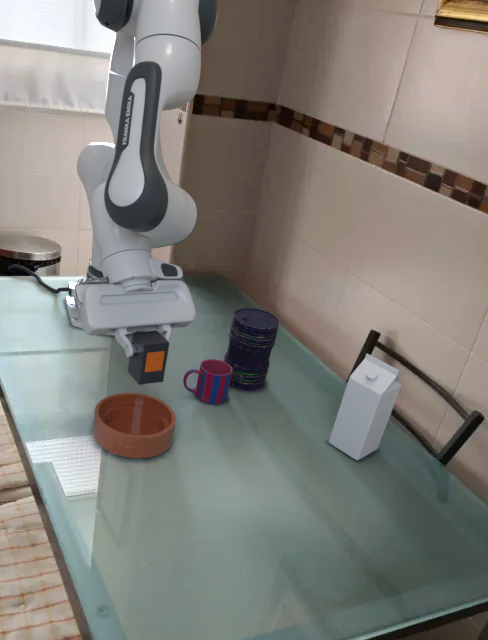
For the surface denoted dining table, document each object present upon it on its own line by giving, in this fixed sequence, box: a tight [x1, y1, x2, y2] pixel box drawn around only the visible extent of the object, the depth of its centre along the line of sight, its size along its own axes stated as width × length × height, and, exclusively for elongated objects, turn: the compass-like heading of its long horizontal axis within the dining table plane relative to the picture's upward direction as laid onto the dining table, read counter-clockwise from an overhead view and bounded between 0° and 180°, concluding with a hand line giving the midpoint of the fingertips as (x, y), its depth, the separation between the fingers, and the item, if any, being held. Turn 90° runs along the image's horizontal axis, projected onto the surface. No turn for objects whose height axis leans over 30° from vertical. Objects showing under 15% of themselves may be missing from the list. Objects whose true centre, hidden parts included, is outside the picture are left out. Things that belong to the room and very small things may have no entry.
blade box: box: [127, 329, 170, 386], centre depth 110 cm, size 5×5×8 cm
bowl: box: [92, 392, 177, 459], centre depth 118 cm, size 14×14×5 cm
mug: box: [182, 358, 233, 405], centre depth 133 cm, size 7×10×7 cm
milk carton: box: [328, 353, 402, 461], centre depth 124 cm, size 7×7×19 cm
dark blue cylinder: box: [223, 307, 280, 392], centre depth 140 cm, size 10×10×15 cm
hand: (148, 354), depth 110 cm, fingers closed on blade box, 4 cm apart
